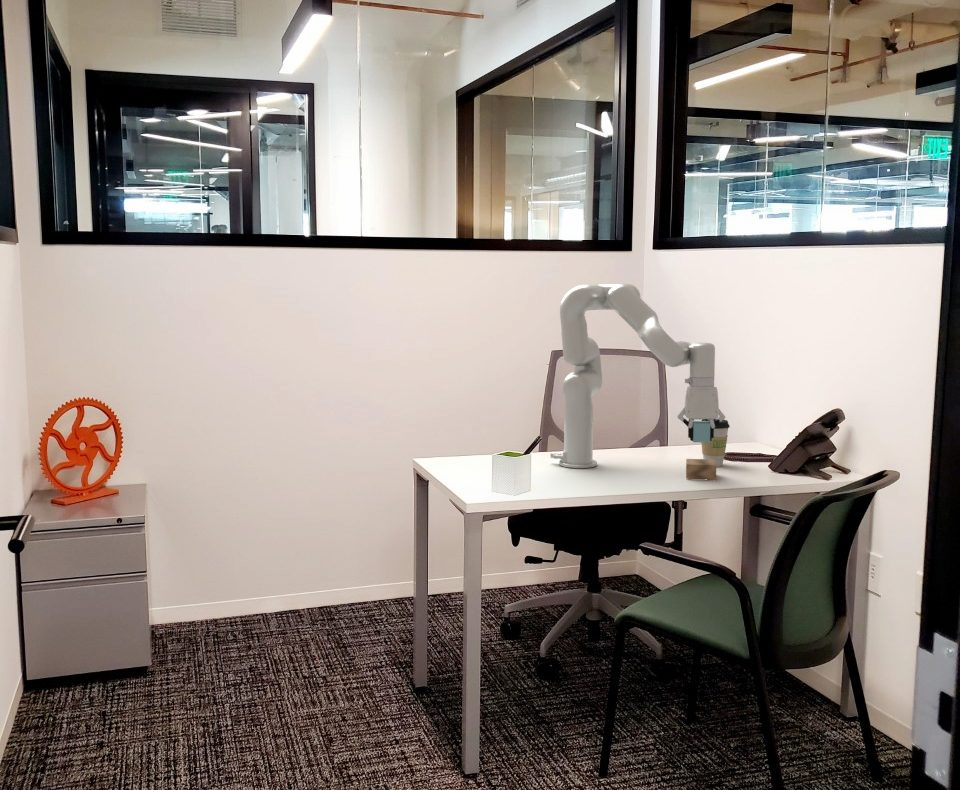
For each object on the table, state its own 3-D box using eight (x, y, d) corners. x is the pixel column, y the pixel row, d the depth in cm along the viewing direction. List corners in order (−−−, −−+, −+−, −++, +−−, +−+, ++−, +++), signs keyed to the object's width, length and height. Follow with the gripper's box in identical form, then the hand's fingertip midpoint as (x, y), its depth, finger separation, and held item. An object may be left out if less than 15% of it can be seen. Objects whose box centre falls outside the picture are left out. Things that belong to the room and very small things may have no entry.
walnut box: (686, 480, 288) (686, 464, 288) (685, 474, 297) (686, 458, 296) (716, 481, 286) (716, 465, 286) (714, 475, 295) (715, 459, 294)
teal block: (693, 442, 288) (693, 423, 287) (691, 439, 293) (692, 420, 292) (709, 442, 288) (710, 423, 287) (707, 439, 292) (708, 421, 292)
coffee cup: (729, 468, 304) (730, 423, 302) (698, 467, 306) (699, 422, 304) (727, 462, 314) (728, 418, 312) (697, 461, 316) (699, 417, 314)
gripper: (675, 383, 285) (674, 442, 287) (731, 384, 283) (730, 442, 286) (672, 381, 293) (672, 437, 295) (728, 381, 291) (726, 438, 293)
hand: (700, 439), depth 290 cm, fingers closed on teal block, 5 cm apart
